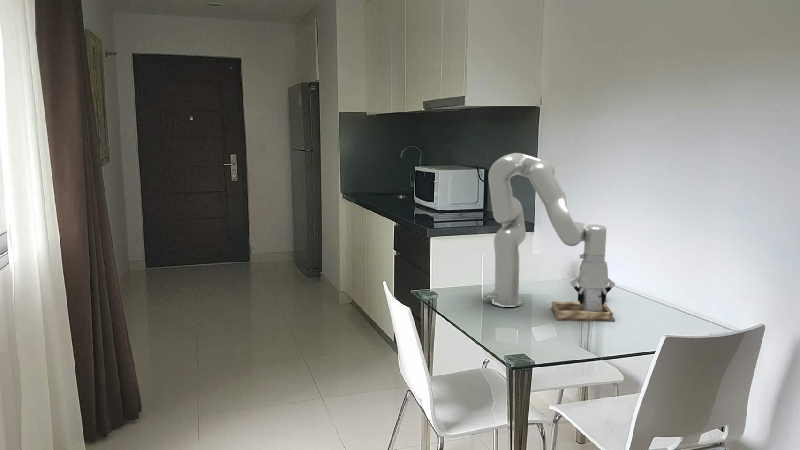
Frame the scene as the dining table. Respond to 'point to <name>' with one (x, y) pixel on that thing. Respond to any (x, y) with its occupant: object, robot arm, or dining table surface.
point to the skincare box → (592, 300)
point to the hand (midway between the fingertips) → (591, 302)
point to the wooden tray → (580, 312)
